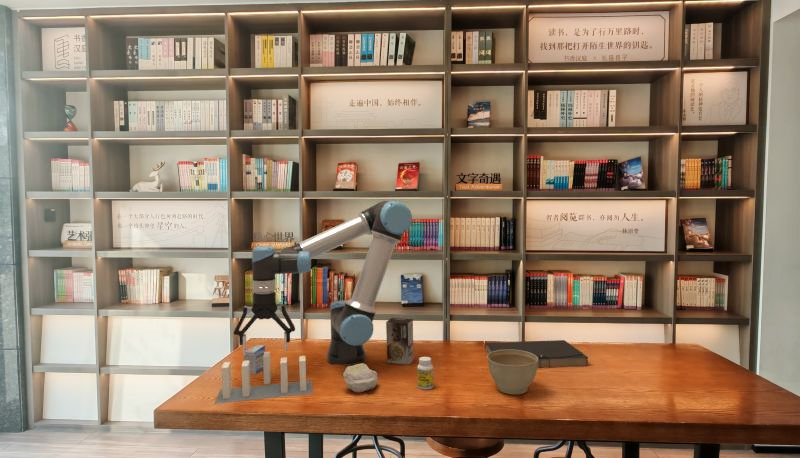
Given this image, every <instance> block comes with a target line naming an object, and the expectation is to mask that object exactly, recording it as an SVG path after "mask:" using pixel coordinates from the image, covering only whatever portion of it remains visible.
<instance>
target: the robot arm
mask: <svg viewBox="0 0 800 458" xmlns="http://www.w3.org/2000/svg"><path fill="white" fill-rule="evenodd" d="M412 222H413V215H412V213H411V210H410V208H409V207H408V206H407V205H406V204H405V203H403V202H400V201H397V200H390V201H388V200H384V201H380V202H377V203H376V204H374V205H371V206H370V207H369V208H366V209H364V210H362V211H360V212H359V213H358V215H357V216H356V217H353V218H351V219H349V220H346V221H344V222H342V223H340V224H338V225H336V226H334V227H331V228H329V229H327V230H325V231H322V232H320V233H317V234H316V235H314V236H312V237H309V238H306V239H304V240H302V241H300V242H298V243H295V244H294V245H291V246H286V247H284V248H281V250H280V251H276V248H275V246H272V245H271V246H269V245H268V246H265V245H264V246H261V245H260V246H256V247H254V248H253V249H252V251H251V252H252V254H251V255H252V256H251V257H252V259H251V264H252V266H251V267H252V270H251V271H252V292H253V293H252V306H247V305H244V307H243V310H242V315H241V316H240V318H239V321H238V322H237V325H236V327H235V329H234V331H233V335H234V336H238V337H239V338H238V339H239V346H242V356H244V355H246V351H247V334H246V332H247V331H248V330H249V328H251V326H252V325H253V324H254V323H255V321H256V320H257V319H258V320H270V319H271V318H272V320H274V322H275V323H276V324H277V325H278V326H279V327H281V329H282V330H283V331H284V333H283V339H284V340H283V343H284V344H283V346H284V348H283V349H284V352H283V353H284V354H286V353H287V351H288V348H287V347H288V346H287V345H288V343H290V341H291V333H293V332H295V331H296V326H295V325H294V323H293V321H292V319H291V317H290V315H289V314H288V312H287V309H286V304H284V303H283V304H281V305H280V304H279V305H277V296H276V295H277V292H276V290H277V289H276V288H277V287H276V286H277V284H276V283H277V282H276V281H277V280H276V275H280V274H281V275H282V274H283V275H284V274H303V273H304V274H305V273H309V272H311V269H312V268H311V267H312V259H314V258H317V257H319V256H321V255H323V254H325V253H328V252H329V251H332V250H334V249H336V248H338V247H341V246H343V245H344V244H347V243H349V242H352V241H353V240H354V241H355V240H356V239H358V238H361V237H363V236H364V235H368V236H371V235H372V239H371V242H370V246H369V248H368V251H367V253H366V257H365V259H364V262H363V265H362V268H361V271H360V273H359V276H358V278H357V282H356V285H355V287H354V290H353V293H352V296H351V298H350V299H348V300H347V299H346V300H337V301H332V302H331V303H330V306H329V307H330V309H329V312H330V337H331V338H330V342H329V347H328V350H327V352H326V353H327V354H326V359H327V362H328V363H329V364H333V365H356V364H361V363H362V362H363V361H365V360H366V358H367V357H366V356H367V355H366V350H365V349H366V348H365V346H364V344H366V343H367V342H368V341H369V340H370V339H371V338H372V337H373V333H374V323H373V321H374V318H375V315H376V309H375V306H374V305H375V304H376V301H377V297H378V295H379V292H380V289H381V287H382V283H383V281H384V278H385V275H386V273H387V269H388V267H389V263H390V260H391V258H392V254H393V252H394V249H395V246H396V245H397V244H399V243H401V242H402V238H403V236H404V234H405V233H406V232H407V231H408V230H409V229H410V228H411V226H412ZM277 310H278V311H279V312H281V313H282V315H283V317H284V319H285V321H286V323H287V325H286V323H285V322H284V321H283V320H282V319H281V318H280V317H279V316H278V314H277V313H276V312H277ZM250 312H252V313H253V314H254V315H253V316H252V317H251V318H250V320H249V321H248V322H247V323H246V324H245V325H244V327H243V328H242V325H243V322H244V321H245V319H246V317H247V314H249V313H250ZM241 328H242V329H241Z"/></svg>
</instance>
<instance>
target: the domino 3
mask: <svg viewBox="0 0 800 458" xmlns="http://www.w3.org/2000/svg"><path fill="white" fill-rule="evenodd" d="M271 367H272V365H271V351H270V350H269V351H265V352H264V355H263V368H264V369H263V385H271V381H272V372H271V371H272V370H271Z"/></svg>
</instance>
